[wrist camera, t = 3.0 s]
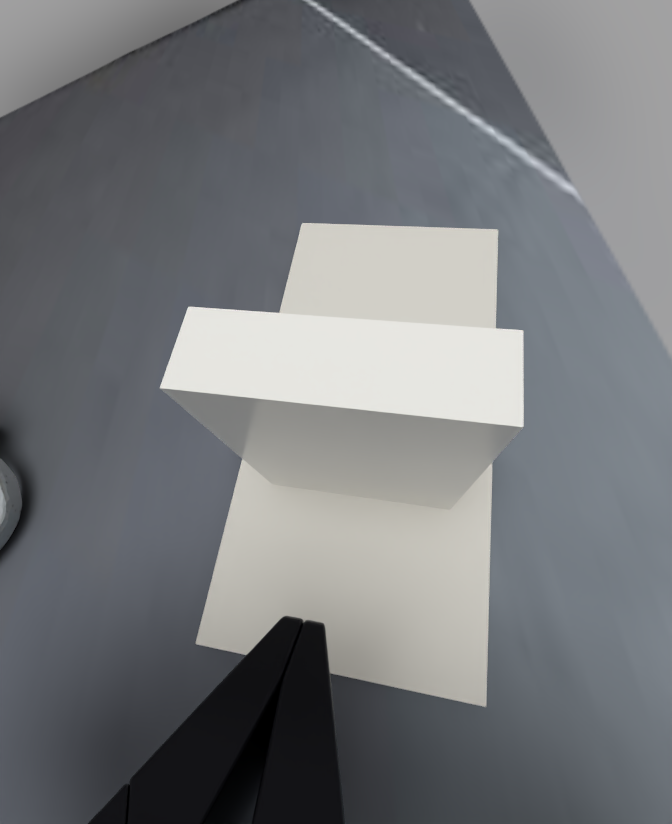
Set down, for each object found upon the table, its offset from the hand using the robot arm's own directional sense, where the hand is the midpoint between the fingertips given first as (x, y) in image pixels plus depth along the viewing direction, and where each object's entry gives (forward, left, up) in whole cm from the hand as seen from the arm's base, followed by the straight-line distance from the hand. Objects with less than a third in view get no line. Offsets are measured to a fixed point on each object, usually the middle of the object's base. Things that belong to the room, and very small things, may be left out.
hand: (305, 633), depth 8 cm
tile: (+2, +5, -7) cm, 9 cm away
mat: (+3, +8, -8) cm, 11 cm away
